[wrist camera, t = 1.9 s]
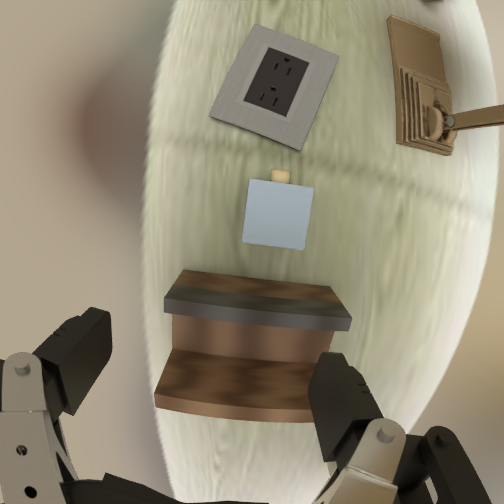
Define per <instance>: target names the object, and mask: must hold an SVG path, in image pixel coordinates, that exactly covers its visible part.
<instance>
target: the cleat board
mask: <svg viewBox="0 0 504 504" xmlns="http://www.w3.org/2000/svg"><path fill="white" fill-rule="evenodd" d="M164 312H165V313H171V314H172V351H171V353H170V356H169V358H168V360H167V363H166V365H165V368H164V370H163V373H162V375H161V377H160V380H159V382H158V385H157V387H156V390H155V392H154V397H155V406H156V407H157V408H162V409H167V410H172V411H177V412H183V413H189V414H195V415H201V416H209V417H216V418H225V419H234V420H246V421H261V422H289V423H308V422H314V419H313V415H312V411H311V407H310V403H309V399H308V385H309V382H310V379H311V377H312V374H313V372H314V369H315V367H316V364H317V362H318V359H319V357H320V355H321V353H322V352H328V351H329V347H330V344H331V341H332V337H333V334H334V331H349V328H350V324H351V321H352V317H351V316H350V314H349V313H348V311H347V310H346V308H345V307H344V306H343V304H342V303H341V301H340V300H339V299H338V297H337V296H336V294H335V293H334V292H333V290H332V289H331V287H328V286H318V285H309V284H299V283H290V282H281V281H272V280H263V279H254V278H246V277H238V276H230V275H222V274H214V273H206V272H198V271H191V270H183V271H182V272H181V274H180V275H179V277H178V278H177V280H176V281H175V283H174V284H173V286H172V287H171V288H170V290H169V291H168V293H167V294H166V296H165V297H164Z"/></svg>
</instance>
